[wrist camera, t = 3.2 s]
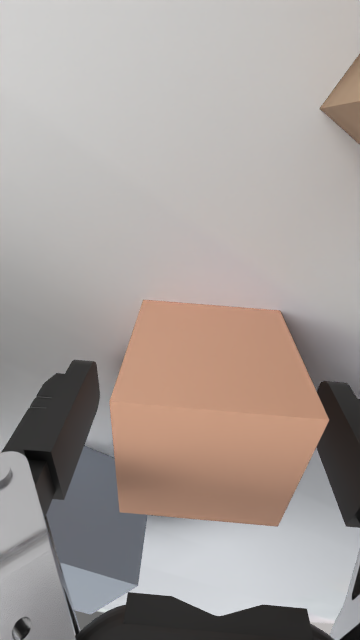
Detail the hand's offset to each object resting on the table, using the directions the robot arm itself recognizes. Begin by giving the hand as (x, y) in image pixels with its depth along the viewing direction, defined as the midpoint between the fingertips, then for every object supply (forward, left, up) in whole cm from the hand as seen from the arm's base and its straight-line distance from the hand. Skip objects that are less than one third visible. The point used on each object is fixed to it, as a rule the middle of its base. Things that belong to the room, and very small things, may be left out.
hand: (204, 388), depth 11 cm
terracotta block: (0, 0, -2) cm, 2 cm away
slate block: (+9, -5, -2) cm, 11 cm away
